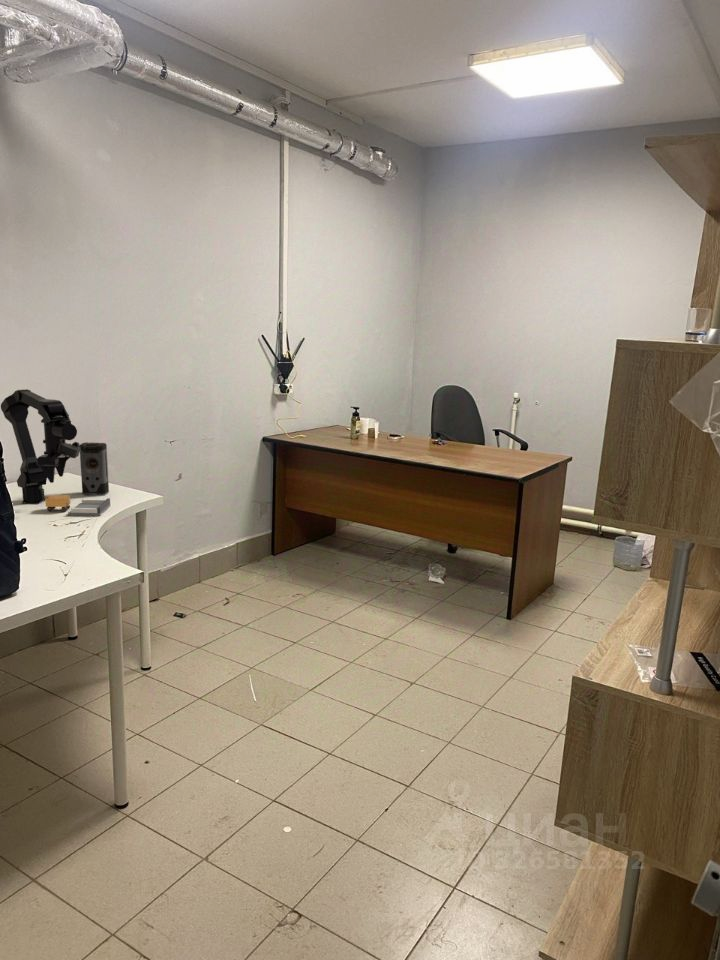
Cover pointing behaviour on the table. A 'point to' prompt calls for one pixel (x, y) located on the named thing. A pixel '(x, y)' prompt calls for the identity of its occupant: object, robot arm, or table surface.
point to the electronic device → (94, 468)
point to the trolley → (58, 502)
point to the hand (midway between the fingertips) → (56, 479)
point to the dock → (90, 507)
